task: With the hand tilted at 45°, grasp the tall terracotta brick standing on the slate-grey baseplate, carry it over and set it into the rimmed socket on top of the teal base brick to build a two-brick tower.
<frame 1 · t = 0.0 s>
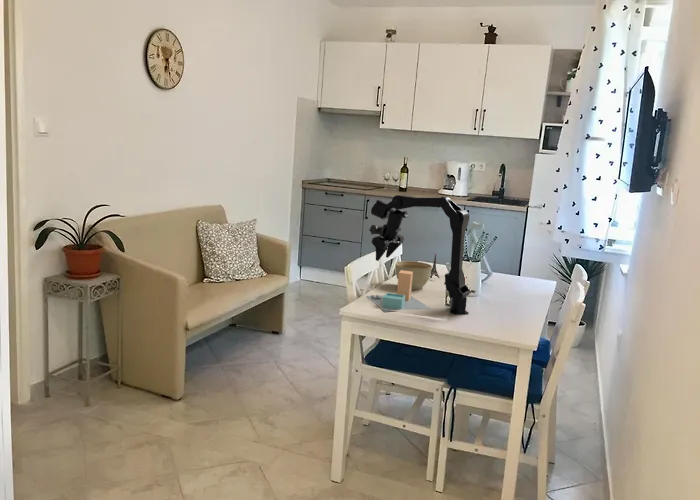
hand: (382, 258, 255), 15 cm above the table, tool pointing down, fingers open, 9 cm apart
eiffel tower figurine: (432, 278, 298), on the table
baseplate: (397, 304, 246), on the table
planter bowl: (411, 288, 273), on the table
terracotta brick: (403, 298, 252), point 1 cm above the table, touching baseplate
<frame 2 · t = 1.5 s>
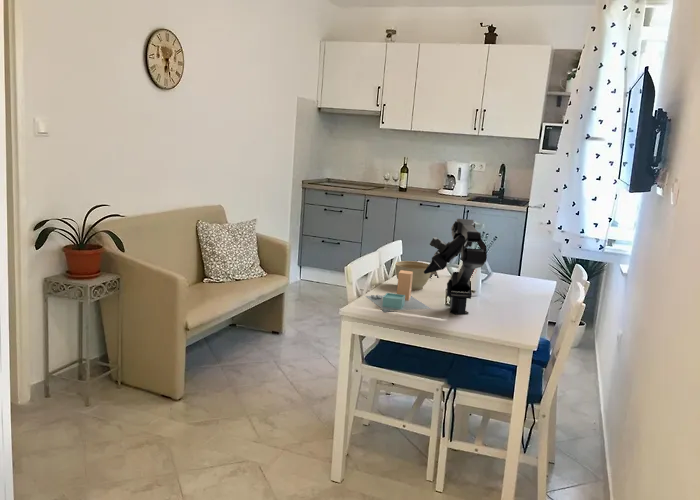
hand: (425, 270, 248), 14 cm above the table, tool tilted 45°, fingers open, 9 cm apart
nothing on the table moved.
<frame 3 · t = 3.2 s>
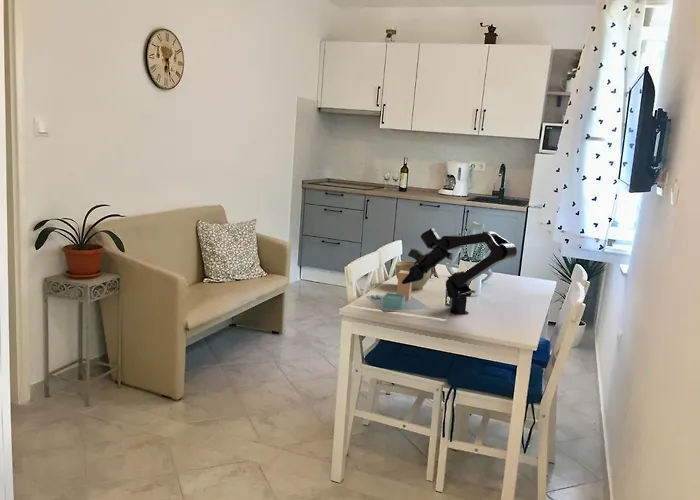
hand: (404, 280, 251), 8 cm above the table, tool tilted 45°, fingers open, 9 cm apart
nothing on the table moved.
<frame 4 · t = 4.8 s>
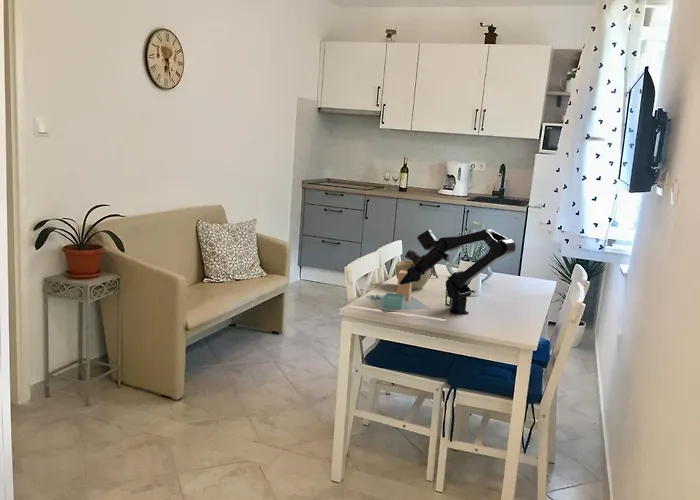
hand: (401, 282, 251), 7 cm above the table, tool tilted 45°, fingers closed on terracotta brick, 5 cm apart
terracotta brick: (403, 298, 252), point 1 cm above the table, touching baseplate, gripper
everything else where it was.
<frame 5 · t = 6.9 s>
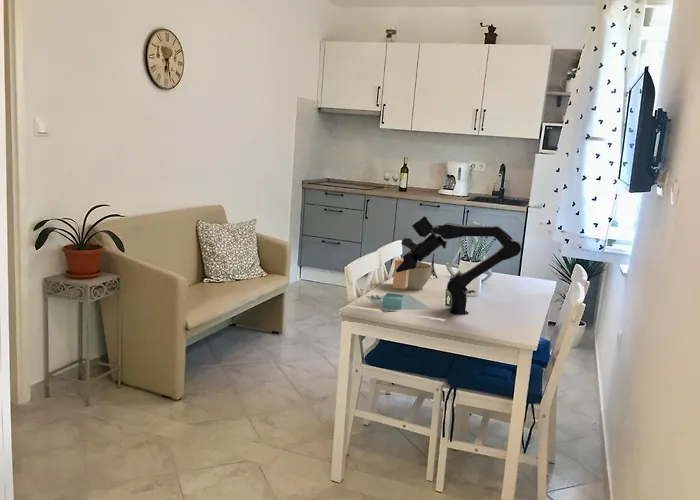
hand: (398, 270, 245), 14 cm above the table, tool tilted 45°, fingers closed on terracotta brick, 5 cm apart
terracotta brick: (400, 286, 246), point 7 cm above the table, touching gripper
everything else where it was.
when the fingers open (11 cm above the table, at t = 9.1 s): terracotta brick stays where it is, resting on baseplate.
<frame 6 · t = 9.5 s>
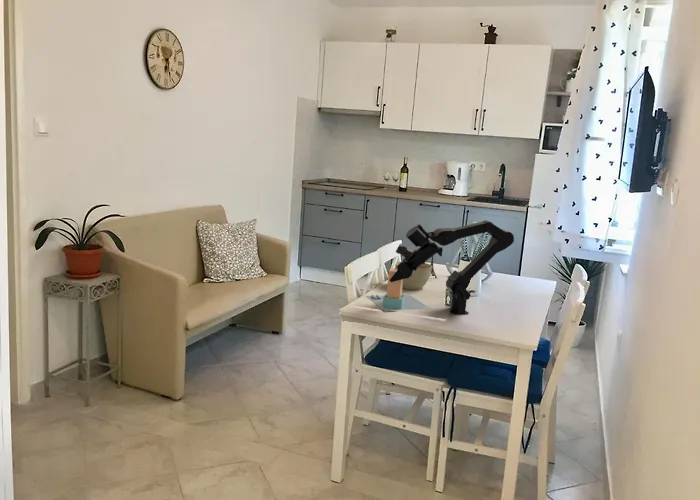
hand: (392, 278, 239), 11 cm above the table, tool tilted 45°, fingers open, 9 cm apart
terracotta brick: (394, 297, 240), point 4 cm above the table, touching baseplate
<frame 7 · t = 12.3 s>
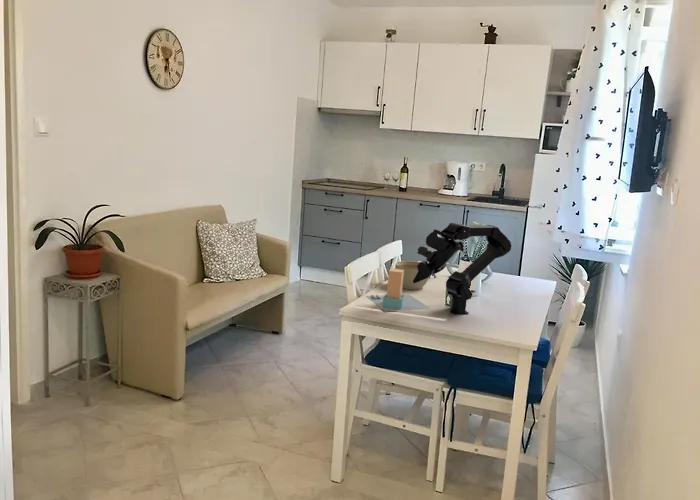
hand: (417, 280, 240), 11 cm above the table, tool tilted 40°, fingers open, 9 cm apart
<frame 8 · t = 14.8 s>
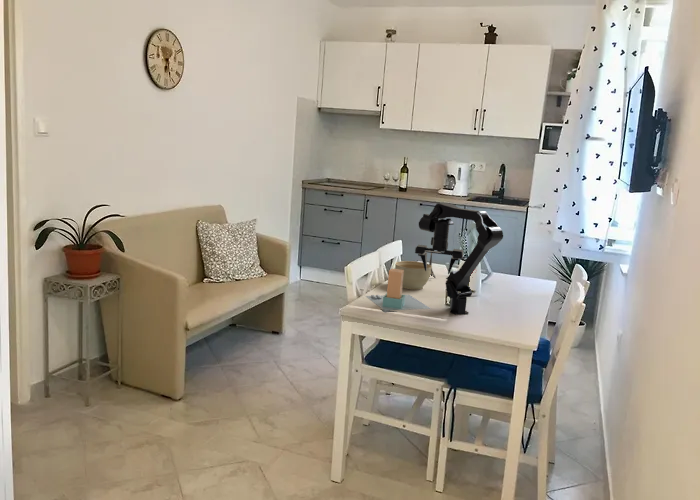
hand: (437, 272, 248), 13 cm above the table, tool pointing down, fingers open, 9 cm apart
at the end: terracotta brick 0.1 cm from the target spot, point 3.8 cm above the table; terracotta brick tilted 0°; the gripper is holding nothing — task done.
